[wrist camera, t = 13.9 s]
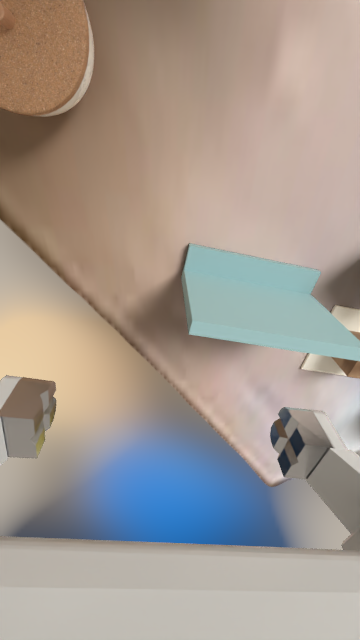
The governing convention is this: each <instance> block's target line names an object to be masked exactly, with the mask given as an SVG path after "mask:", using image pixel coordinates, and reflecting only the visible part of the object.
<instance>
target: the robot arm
mask: <svg viewBox="0 0 360 640" xmlns="http://www.w3.org/2000/svg"><path fill="white" fill-rule="evenodd" d="M55 391H56V385H55V382H53V381H46V380H39V379H32V378H24V377H23V378H22V377H14V376H7V375H6V376H5V377H3V378H2V379H1V381H0V465H1V464H2V463H4V462H5V461H6V460H7V459H8V457H19V458H37V457H38V455H39V453H40V450H41V448H42V446H43V443H44V441H45V431H46V430H48V429H49V428H50V426H51V424H52V422H53V419H54V415H55V411H56V399H55V398H54V397H53V395H54V393H55ZM278 415H279V417H280V419H278V420H276V421H275V422H274V423H273V425H272V427H271V433H270V437H271V443H272V446H273V448H274V449H275V450H276V451H277V452H278V453H279V456H278V459H277V460H278V462H279V465H280V468H281V470H282V473H283V476H284V477H287V478H297V479H306V481H307V482H308V484H310V486H311V487H312V488H313V490H314V491H315V492H316V493H317V494H318V495H319V497H320V498H321V499H322V500H323V501H324V503H325V504H326V505H327V506H328V507H329V508H330V510H331V511H332V512H333V513H334V514H335V515H336V517H337V518H338V519H339V520H340V521H341V523H342V524H343V525H344V526H345V527H346V529H347V530H348V531H349V532H350V533H351V535H350V536H349V537H348V538H347V539H346V540H344V541H343V543H342V548H343V550H332V549H307V548H282V547H257V546H232V545H231V546H230V545H207V544H206V545H205V544H183V543H181V544H180V543H156V542H132V541H106V540H82V539H56V538H31V537H5V536H0V640H360V456H358V455H357V454H356V453H355V452H353V451H352V450H348V449H347V447H346V446H345V444H344V443H343V441H342V439H341V438H340V436H339V434H338V433H337V431H336V430H335V428H334V426H333V425H332V423H331V421H330V420H329V418H328V417H327V415H326V414H325V413H324V412H323V411H318V410H307V409H298V408H288V407H284V408H282V409H281V410H280V412H279V414H278Z"/></svg>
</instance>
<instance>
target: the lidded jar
mask: <svg viewBox="0 0 360 640" xmlns="http://www.w3.org/2000/svg"><path fill="white" fill-rule="evenodd" d="M93 67H94V41H93V33H92V29H91V24H90V20H89V16H88V13H87V10H86V7H85V4H84V1H83V0H0V108H2V109H5V110H8V111H10V112H13V113H17V114H22V115H30V116H42V117H47V116H53V115H58V114H61V113H64V112H66V111H68V110H69V109H71V108H72V107H74V106H75V105H76V104H77V103H78V102H79V101H80V100H81V98H82V97H83V96H84V94H85V93H86V91H87V88H88V86H89V84H90V81H91V77H92V73H93Z"/></svg>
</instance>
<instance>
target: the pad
mask: <svg viewBox="0 0 360 640" xmlns="http://www.w3.org/2000/svg"><path fill="white" fill-rule="evenodd" d="M331 314H332V315H333V316H334V317H335V318H336V319H337V320H338V321H339V322H340V323H341V324H343V325H344V326H345V327H346V328H347V329H348V330H349V331H355V332H360V309H354V308H349V307H344V306H338V305H334V307H333V309H332V311H331ZM301 369H303V370H310V371H317V372H323V373H330V374H337V375H343V376H347V375H346V374H345V373H344V372H343V371H342V369H341V368H340V367H339V366H338V365H337V363H336V362H335V361H334V360H333V358H332V357H329V356H323V355H317V354H310V353H308V355H307V357H306V359H305V360H304V362H303V364H302V366H301Z"/></svg>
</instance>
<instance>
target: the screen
mask: <svg viewBox="0 0 360 640" xmlns="http://www.w3.org/2000/svg"><path fill="white" fill-rule="evenodd" d="M320 274H321V272H320V271H319V270H317V269H312V268H307V267H302V266H297V265H292V264H287V263H283V262H278V261H273V260H268V259H263V258H258V257H253V256H249V255H244V254H239V253H234V252H229V251H224V250H219V249H215V248H210V247H205V246H200V245H195V244H190V243H189V247H188V251H187V255H186V260H185V264H184V268H183V273H182V277H181V279H182V287H183V295H184V302H185V310H186V317H187V325H188V333H189V334H190V335H196V336H203V337H209V338H215V339H222V340H228V341H234V342H241V343H247V344H253V345H260V346H266V347H272V348H279V349H285V350H291V351H298V352H304V353H310V354H317V355H323V356H329V357H336V358H342V359H348V360H355V361H360V341H359V340H358V339H357V338H356V337H355V336H354V335H353V334H352V333H351V332H350V331H349V330H348V329H347V328H346V327H345V326H344V325H343V324H341V323H340V322H339V321H338V320H337V319H336V318H335V317H334V316H333V315H332V314H331V313H330V312H329V311H328V310H327V309H326V308H325V307H324V306H322V305H321V304H320V303H319V302H318V301H317V300H316V299H315V298H314V297H313V296H312V295H311V292H312V290H313V288H314V286H315V284H316V282H317V280H318V278H319V276H320Z"/></svg>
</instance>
